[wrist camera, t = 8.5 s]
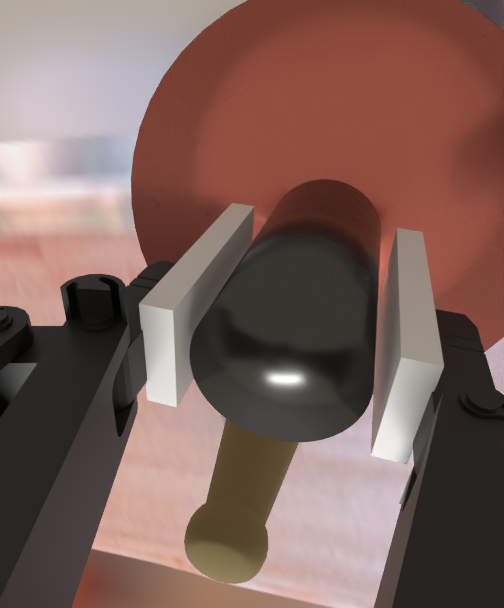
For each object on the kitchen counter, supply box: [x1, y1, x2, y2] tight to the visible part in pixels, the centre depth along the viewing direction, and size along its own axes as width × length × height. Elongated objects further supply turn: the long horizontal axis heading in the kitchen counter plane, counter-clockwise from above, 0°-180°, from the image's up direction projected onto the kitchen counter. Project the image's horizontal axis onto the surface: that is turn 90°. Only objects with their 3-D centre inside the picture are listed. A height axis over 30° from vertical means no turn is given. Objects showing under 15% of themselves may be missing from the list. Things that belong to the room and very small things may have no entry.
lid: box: [131, 0, 504, 442], centre depth 14 cm, size 15×15×11 cm
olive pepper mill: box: [184, 419, 299, 584], centre depth 31 cm, size 6×6×11 cm
